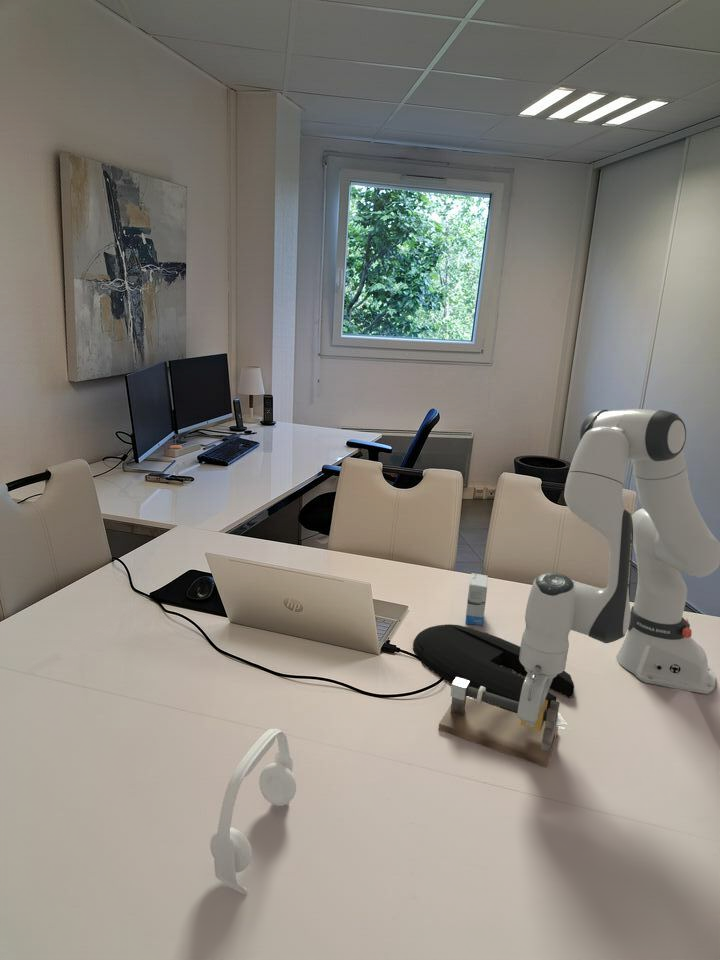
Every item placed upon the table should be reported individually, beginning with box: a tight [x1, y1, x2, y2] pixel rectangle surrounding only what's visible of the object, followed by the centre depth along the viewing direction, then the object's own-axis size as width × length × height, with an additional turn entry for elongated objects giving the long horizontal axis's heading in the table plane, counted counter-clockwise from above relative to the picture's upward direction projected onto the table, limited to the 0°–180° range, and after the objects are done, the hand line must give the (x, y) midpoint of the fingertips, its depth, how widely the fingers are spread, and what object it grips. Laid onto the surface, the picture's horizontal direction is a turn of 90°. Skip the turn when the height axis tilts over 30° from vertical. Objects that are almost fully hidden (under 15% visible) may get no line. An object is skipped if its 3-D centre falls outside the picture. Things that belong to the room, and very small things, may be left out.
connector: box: [450, 677, 470, 716], centre depth 138 cm, size 3×3×7 cm
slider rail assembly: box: [438, 696, 561, 768], centre depth 135 cm, size 22×12×10 cm, turn 64°
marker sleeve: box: [520, 700, 548, 731], centre depth 132 cm, size 4×4×4 cm
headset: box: [209, 728, 297, 896], centre depth 103 cm, size 20×7×18 cm, turn 160°
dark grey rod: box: [466, 686, 558, 723], centre depth 134 cm, size 18×4×4 cm, turn 64°
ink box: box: [465, 572, 489, 627], centre depth 182 cm, size 8×5×12 cm, turn 168°
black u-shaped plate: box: [412, 623, 575, 713], centre depth 159 cm, size 25×40×5 cm, turn 46°
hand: (533, 716), depth 132 cm, fingers closed on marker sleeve, 4 cm apart
